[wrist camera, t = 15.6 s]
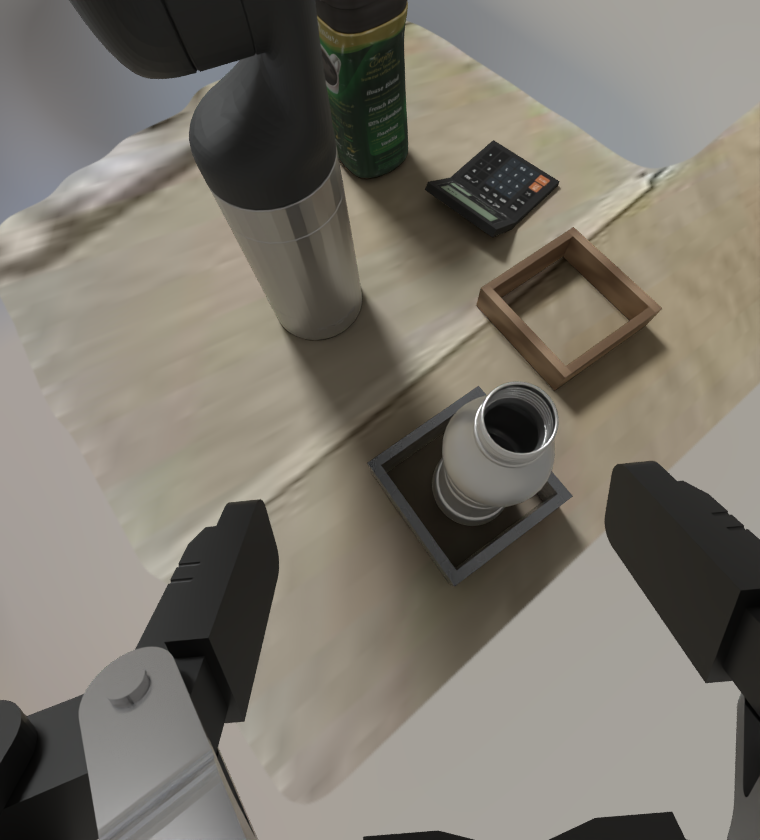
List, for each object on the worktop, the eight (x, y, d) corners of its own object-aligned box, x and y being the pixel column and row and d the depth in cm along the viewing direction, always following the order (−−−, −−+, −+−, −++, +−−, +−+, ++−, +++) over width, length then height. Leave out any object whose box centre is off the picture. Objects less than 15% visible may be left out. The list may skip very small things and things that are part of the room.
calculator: (557, 187, 50) (565, 164, 47) (488, 251, 48) (493, 232, 45) (492, 146, 52) (496, 122, 49) (424, 206, 50) (425, 184, 47)
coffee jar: (419, 161, 52) (424, -48, 34) (360, 191, 51) (335, -7, 33) (376, 111, 55) (361, -104, 37) (320, 139, 54) (278, -68, 36)
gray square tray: (371, 472, 40) (367, 462, 37) (472, 402, 42) (478, 385, 38) (450, 584, 37) (454, 586, 33) (556, 503, 39) (572, 496, 35)
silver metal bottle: (508, 460, 40) (597, 363, 21) (498, 536, 38) (585, 504, 19) (437, 446, 41) (461, 341, 22) (423, 520, 39) (436, 473, 20)
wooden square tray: (476, 305, 45) (480, 287, 42) (563, 247, 47) (573, 227, 44) (554, 390, 42) (565, 377, 39) (645, 325, 43) (662, 308, 41)
